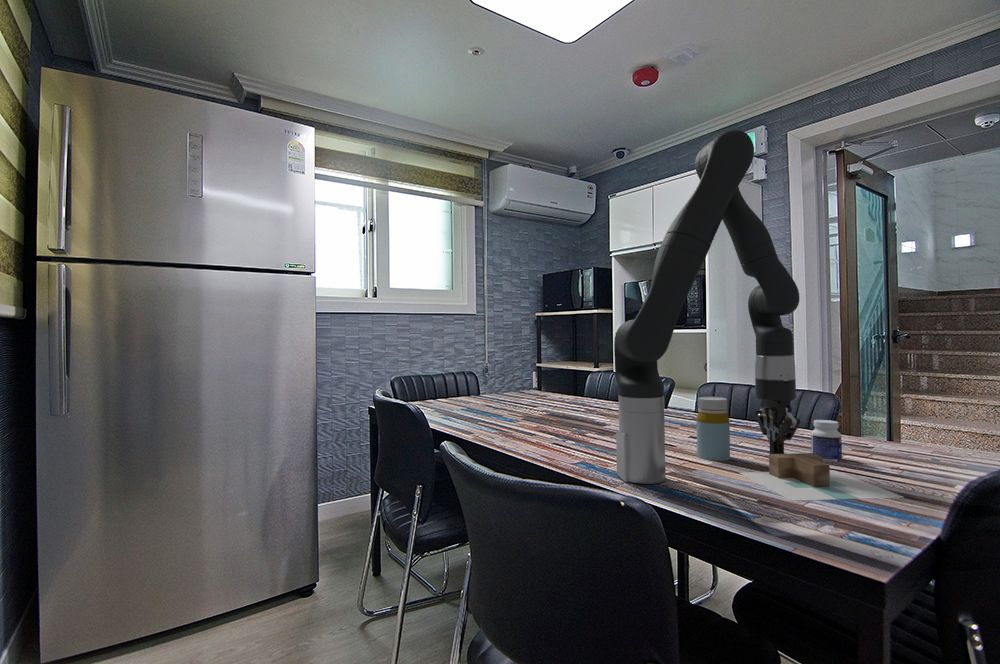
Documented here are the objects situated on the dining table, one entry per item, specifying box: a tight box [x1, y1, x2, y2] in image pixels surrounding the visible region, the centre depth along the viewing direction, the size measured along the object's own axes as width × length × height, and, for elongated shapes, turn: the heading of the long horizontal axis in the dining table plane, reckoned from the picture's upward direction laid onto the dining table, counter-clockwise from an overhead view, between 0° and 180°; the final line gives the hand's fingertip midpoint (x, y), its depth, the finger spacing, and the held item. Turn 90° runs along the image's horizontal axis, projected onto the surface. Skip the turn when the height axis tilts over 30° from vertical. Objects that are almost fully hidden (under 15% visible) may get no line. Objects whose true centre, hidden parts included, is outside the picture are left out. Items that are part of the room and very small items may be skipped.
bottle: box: [696, 396, 731, 462], centre depth 114 cm, size 7×7×15 cm
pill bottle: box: [810, 419, 843, 463], centre depth 111 cm, size 6×6×10 cm
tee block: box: [768, 452, 831, 487], centre depth 95 cm, size 9×9×4 cm
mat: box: [739, 469, 905, 502], centre depth 93 cm, size 20×17×2 cm
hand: (777, 458), depth 105 cm, fingers closed
